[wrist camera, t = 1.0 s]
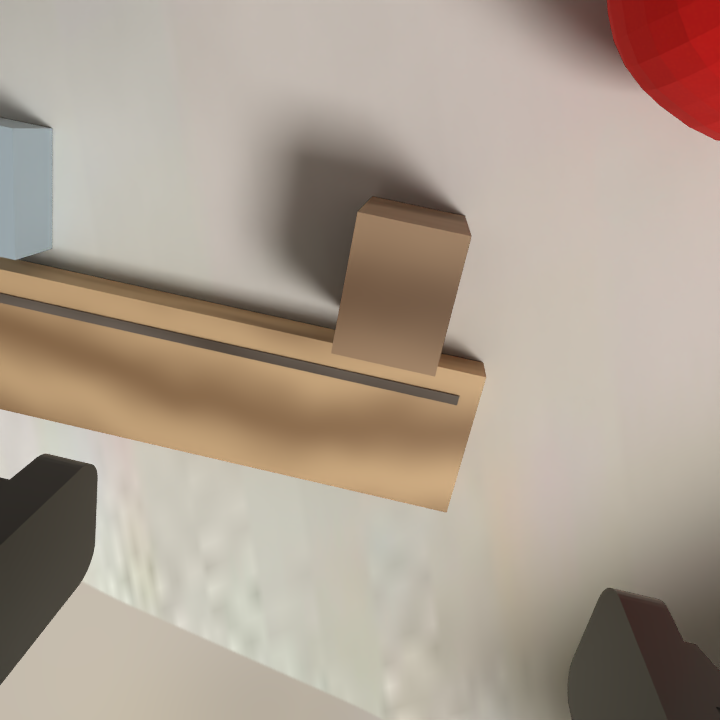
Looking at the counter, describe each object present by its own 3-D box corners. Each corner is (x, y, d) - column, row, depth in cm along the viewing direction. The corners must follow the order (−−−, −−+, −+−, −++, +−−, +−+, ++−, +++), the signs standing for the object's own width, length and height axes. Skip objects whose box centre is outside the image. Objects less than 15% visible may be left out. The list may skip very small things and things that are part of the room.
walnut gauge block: (372, 196, 29) (357, 211, 24) (464, 215, 29) (471, 236, 24) (349, 313, 31) (330, 353, 26) (435, 332, 31) (435, 376, 26)
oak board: (2, 256, 32) (-26, 264, 31) (483, 362, 31) (486, 378, 29) (6, 390, 35) (-19, 405, 33) (445, 491, 34) (446, 513, 32)
